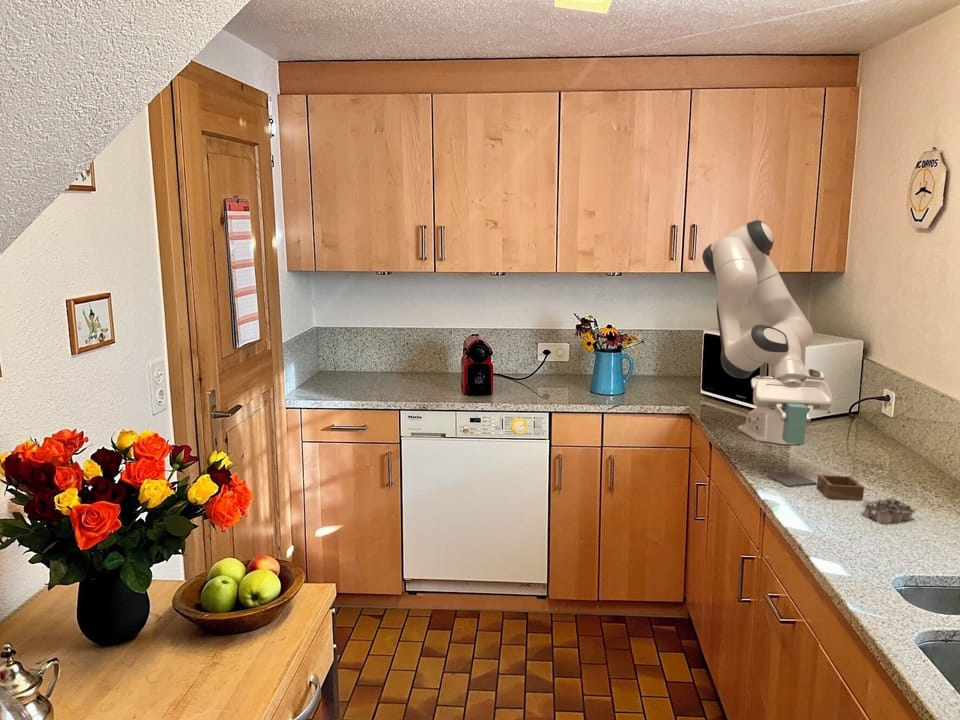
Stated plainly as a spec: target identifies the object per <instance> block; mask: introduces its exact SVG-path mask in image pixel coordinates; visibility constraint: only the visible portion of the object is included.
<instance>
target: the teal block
mask: <svg viewBox="0 0 960 720" xmlns="http://www.w3.org/2000/svg"><path fill="white" fill-rule="evenodd" d="M785 413H787V414H788V420H787V421H784V425H783V435H782V439H783V440H784V441H785V442H786V443H790V444H789V445H798V444H799V445H805V442H804V440H805V439H806V438H805V434H806V428H807V422H806V421H807V413H808V407H806V406H805V405H804V404H793V403H786V406H785ZM805 441H806V440H805Z"/></svg>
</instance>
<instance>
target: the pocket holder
mask: <svg viewBox="0 0 960 720" xmlns="http://www.w3.org/2000/svg"><path fill="white" fill-rule="evenodd" d="M816 488H817V489H818V490H819V491H820V493H821V494H823V496H825V497H826V498H827V499H828V500H840V501H841V500H842V501H843V500H844V501H845V500H846V501H858V500H863V501H864V490H865V487H864V486H863V485H862V484H861V483H860V482H858V481H857V480H856V479H855V478H854V477H852V476H850V475H849V476H847V475H846V476H844V475H827V474H817V485H816Z"/></svg>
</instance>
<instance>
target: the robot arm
mask: <svg viewBox="0 0 960 720" xmlns="http://www.w3.org/2000/svg"><path fill="white" fill-rule="evenodd" d="M774 241H775V240H774V234H773V231H772V230H771V228H770V227H769V226H768V225H767V224H766V223H765V222H764V221H763V220H759V219H754V220H752V221H749V222H747V223H746V224H743V225H742V226H740V227H736V229H733V230H732V231H729V232H728V233H727V234H725V235H723V237H720V238H719V239H718V240H717V241H715V242H713V244H712V243H711V244H709V245H708V246H707V247H705V248H704V250H703V251H702V255H701V258H702V261H703V264H704V265H703V266H704V267H705V268H706V269H707V270H708V272H709V273H710V274H711V275H714V276H716V281H717V289H718V291H717V293H718V294H717V295H718V296H717V302H716V316H717V318H716V319H717V324H718V325H717V326H718V332H719V338H720V345H721V349H720V350H721V351H720V363H721V367H722V368H723V370H724V372H725V373H727V374H728V375H729V376H730V377H733V378H737V379H747V378H749V377H750V376H751V375H752V374H754V372H756V371H757V369H759V368H760V367H762V365H764V364H766V363H767V364H768V375H767V376H766V375H764V376H763V375H756V376H754V377H752V378H751V380H750V384H751V385H750V386H751V388H752V389H753V391H752V403H753V405H754V406H755V408H754V409H752V410H750V411H749V412H748V413H747V414H746V418H745V423H744V424H743V423H742V424H740V425H738V426H737V430H738V431H739V432H741V433H744V434H745V435H747V436H749V437H750V438H752V439H753V440H754V441H758V442H767V443H773V444H779V445H791V444H790V443H786V442H785V441H784V440H783V439H782V435H783V425H784V421H787V420H788V414H787V413H785V406H786V403H793V404H804V405H805V406H806V407H808V412H807V421H806V424H807V423H808V424H809V423H810V422H811V414H812V412H813V410H815V411H828V410H829V409H830V408H831V407H832V406H833V403H834V399H833V394H832V390H831V388H830V386H829V384H828V382H826V381H825V377H826V376H825V372H823V371H820V370H817V369H814V368H811V367H808V366H806V348H807V347H808V346H809V345H810V344H811V343H812V341H813V338H814V330H813V327H812V325H811V324H810V322H809V321H808V319H807V318H806V317H805V315H804V313H803V312H802V310H801V309H800V307H799V305H798V304H797V302H795V299H794V298H793V297H792V296H791V294H790V292H789V290H788V288H787V286H786V284H785V282H784V281H783V278H782V276H781V275H780V272H779V271H778V269H777V267H776V266H775V263H774V262H773V261H772V260H771V259H770V257H769V256H771V250H772V249H773V246H774ZM749 300H751V302H752V304H753V306H754V308H755V310H756V312H757V313H758V314H759V315H760V317H761V318H762V319H763V321H764V322H765V323H766V325H765V324H757V325H754V326H752V328H750V329H749V330H747V331H746V332H745V333H744V334H743V335H742V331H741V325H740V319H741V314H742V312H743V310H744V308H745V306H746V305H747V303H748V301H749ZM805 439H807V434H806V433H805ZM805 441H806V440H804V443H805Z"/></svg>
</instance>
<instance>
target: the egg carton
mask: <svg viewBox="0 0 960 720" xmlns="http://www.w3.org/2000/svg"><path fill="white" fill-rule="evenodd" d="M862 502H863V503H862V504H861V507H864V510H863V511H864V512H863V515H864V514H865V515H864V517H865V516H866V517H865V518H867V517H872V518H871V519H873V518H875V519H874V520H876V519H877V520H876V521H877V522H876V523H878V522H879V524H884V523H886V525H891V524H892V522H894V523H901V522H902V520H904V521H907V520H908V521H909V522H910V521H912V516H913V514H915V512H916V511H917V509H916V508H914V509H912V507H911V505H910V504H906V503H904V502H903V501H901V500H898V499H897V498H895V497H894V496H891V497H889V498H886V499H883V498H882V499H880V498H879V499H877V500H873V501H868V500H865V501H864V500H863V501H862Z"/></svg>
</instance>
